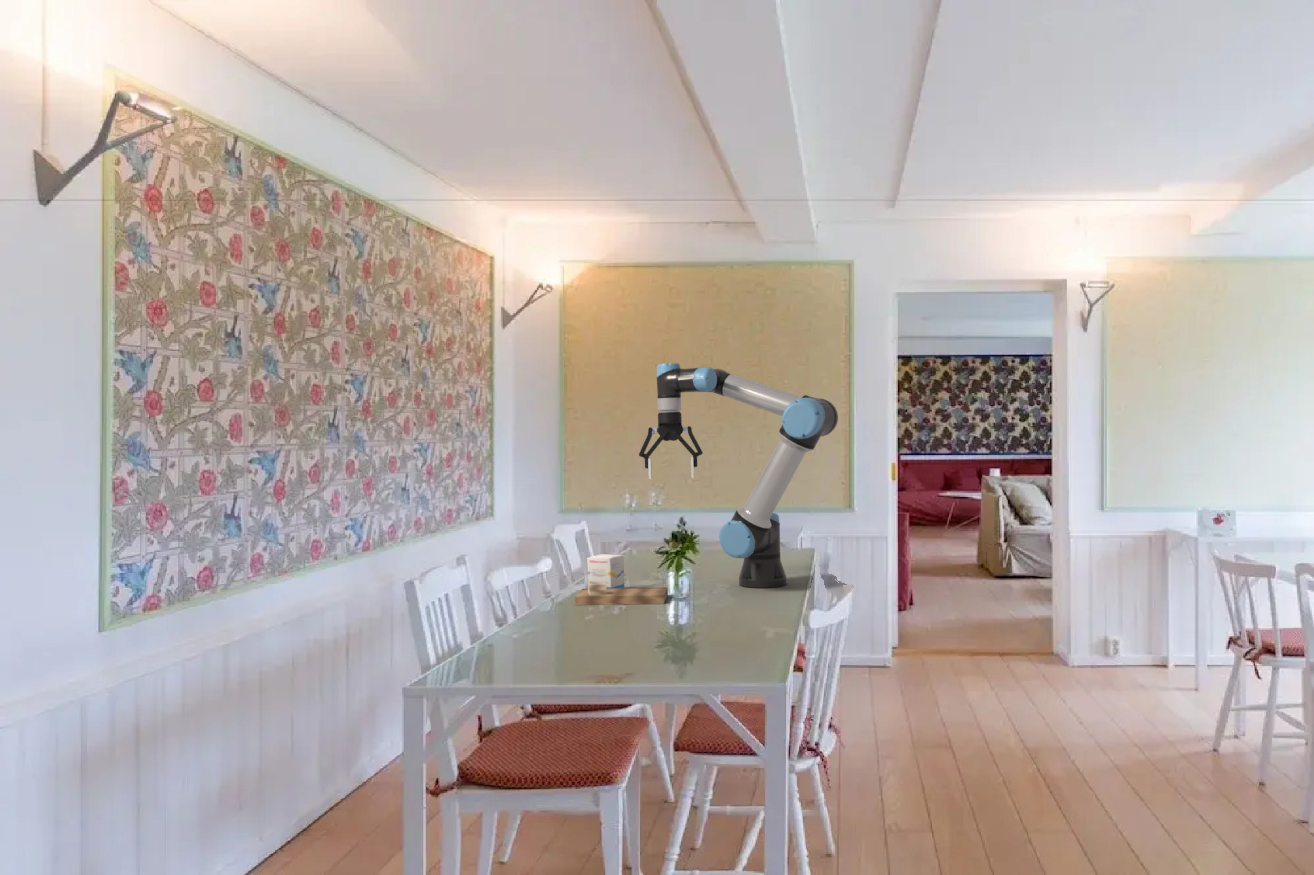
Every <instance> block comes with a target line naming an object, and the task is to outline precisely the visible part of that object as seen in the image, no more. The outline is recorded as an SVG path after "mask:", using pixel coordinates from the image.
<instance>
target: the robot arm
mask: <svg viewBox="0 0 1314 875" xmlns="http://www.w3.org/2000/svg"><path fill="white" fill-rule="evenodd" d="M655 378H656V390H657V391H656V392H657V400H656V401H657V411H659V412H657V427H651V426H650V427H648V429H647V430H648V432H647V436H646V437H645V440H644V442H643V445H642V447H641V449H640V451H639V453H638V456H639V457H641V458H643V459H644V468H645V469H648V480H652V479H653V472H652V467H653V466H652V458H651V457H650V456H651V455H652V454H653V452H654V451H655V450H656V449H657V448H658V447H659V445H660V443H662V441H664V442H668V441H669V442H670V441H673V442H674V441H677V440H678V441H679V442H680V443H681V444H682V446H684V448H685V449H686V450H687V451H688V452H689V454H691V456H690V470H691V471H690V473H691V474H690V475H691V476H690V477H691V479H694V478H695V468H697V467H698V457H699V456H701V455H703V452H704V451H703V450H702V448H701V446H700V445H699V443H698V441H697V439H696V438H695V435H694V433H693V428H692V426H686V427H683V424H682V422H683V421H682V412H680V411H681V410H682V396H681V394H682V393H713V394H717V395H719V396H722V397H726V398H729V399H732V400H734V401H738V402H741V403H743V404H746V405H749V406H752V407H754V408H757V409H761V410H763V411H766V412H770V413H773V414H775V415H778V416H781V417H782V418H781V422H782V425H781V426H780V428H779V431H778V434H779V436H780V439H779V440H778V443H777V445H776V446H775V448H774V451H773V452H772V454H771V456H770V458H769V460H768V462H767V463H766V466H765V467H764V469H763V471H762V473H761V475H760V476H759V478H758V479H757V482H756V484H755V486H754V487H753V489H752V491H751V493H750V495H749V497H748V499H747V501H746V502H745V504H744V505H741V506H739V507H737V509H736V511H735V512H734V514H733V516H732V518H731V520H729V521H727V522H726V523H725V524H723V526H722V527H721V528H720V531H719V536H718V537H719V538H718V539H719V542H720V546H721V548H722V550H723V551H724V553H725V554H727V555H728V556H729V557H731V558H734V559H743V562H742V566H741V570H740V573H739V576H738V585H740V586H741V587H744V588H755V589H756V588H757V589H759V588H760V589H761V588H764V589H765V588H778V587H783V586H785V585H787V580H788V579H787V574H786V572H785V569H784V566H783V563H782V561H781V559H782V558H781V530H780V526H781V522H780V516H779V514H778V513H776V512H775V510H776V508H777V506H778V505H779V503H780V501H781V500H782V497H783V495H784V494H785V492H786V490H787V488H788V486H789V484H790V483H791V481H792V479H793V477H794V475H795V473H796V472H797V469H798V468H799V466H800V464H801V463H802V462H803V459H804V457H805V455H806V453H807V452H811V451H813V450H814V449H815V447H816V446H817V444H818V442H819V440H820V439H821V437H824V436H828V435H829V434H831V433H832V432H833V431H834V430H835V429H836V426H837V425H838V421H839V414H838V410H837V408H836V407H835V405H834V404H833V403H832V402H831V401H829V400H827V399H824V398H818V397H814V396H810V395H806V394H803V395H802V396H799V395H796V394H793V393H789V392H787V391H784V390H781V389H778V388H775V387H772V386H769V385H766V384H763V383H760V382H756V381H754V380H751V379H747V378H744V377H741V376H738V375H735V374H731V373H729V372H727V371H726V370H724V369H720V368H712V367H704V366H700V367H689V368H681V366H680V363H678V362H662V363H659V364H657V366H656V377H655ZM656 432H657V434H658V435H659V437H658V438H657V439H656V441H655V442H654V443H653V444H652V446H651V447H650V449H649V450H648V451H647V452H646V450H647V448H648V445H649V443H651V442H650V441H651V440H652V437H653V435H654V434H656ZM684 432H685V434H688V436H689V439H690V440H691V442H692V444H693V446H694V448H695V449H696V451H697V452H696V451H695V450H694V449H693V448H692V446H691V445H689V443H688V442H687V441H686V440H685V439H684V437H682V433H684ZM645 452H646V453H645Z"/></svg>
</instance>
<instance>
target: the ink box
mask: <svg viewBox="0 0 1314 875" xmlns="http://www.w3.org/2000/svg"><path fill="white" fill-rule="evenodd" d="M586 560H587V563H586V564H587V584H588V583H602V582H605V583H606V588H625V564H624V562H625V561H624V554H623V555H621V554H606V553H605V554H602V553H600V554H597V555H592V556H590V557H587V558H586Z"/></svg>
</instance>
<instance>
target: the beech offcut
mask: <svg viewBox="0 0 1314 875" xmlns="http://www.w3.org/2000/svg"><path fill="white" fill-rule="evenodd" d="M587 589H588V594H589V595H590V596H591V595H607V590H606V583H605V582H602V583H588V582H587Z"/></svg>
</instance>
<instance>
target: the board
mask: <svg viewBox="0 0 1314 875" xmlns="http://www.w3.org/2000/svg"><path fill="white" fill-rule="evenodd" d="M606 590H607V595H591V596H590V595H589V594H588V588H582V589H581V590H580V591H579V592H577V594H576V595H575V596H574V604H575V606H600V605H602V606H605V605H606V606H607V605H608V606H610V605H611V606H612V605H613V606H615V605H616V606H617V605H664V604H665V602H666V600H667V597H668V596H669V592H668V590H669V588H668V587H666V586H665V587H661V586H660V587H624V588H606Z"/></svg>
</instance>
